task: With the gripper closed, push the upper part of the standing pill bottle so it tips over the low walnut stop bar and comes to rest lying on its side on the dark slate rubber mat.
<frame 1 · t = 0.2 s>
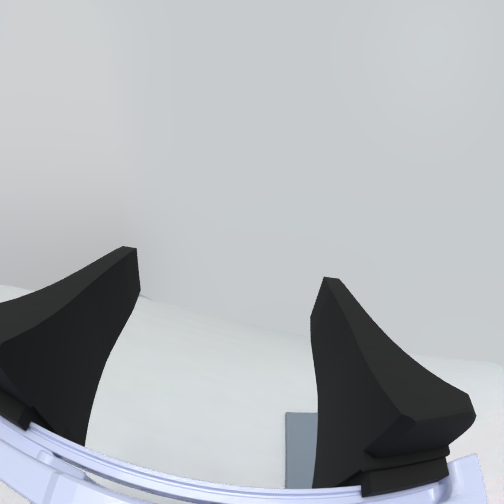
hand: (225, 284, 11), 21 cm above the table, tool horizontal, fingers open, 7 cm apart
slate mat: (354, 453, 23), on the table
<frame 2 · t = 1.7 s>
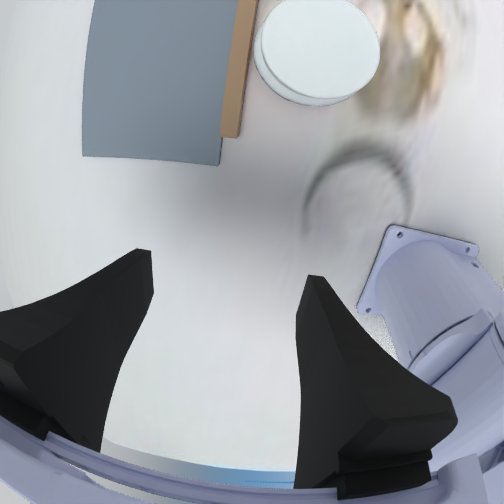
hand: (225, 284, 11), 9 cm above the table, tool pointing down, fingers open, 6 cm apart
pill bottle: (299, 65, 15), on the table
slate mat: (153, 54, 14), on the table
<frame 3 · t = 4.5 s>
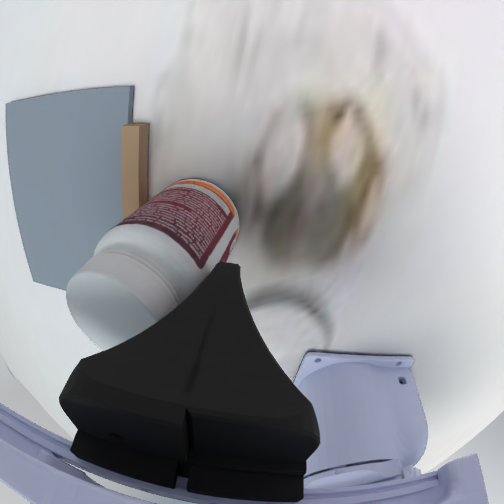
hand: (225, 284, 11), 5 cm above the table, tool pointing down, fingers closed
pill bottle: (199, 218, 16), on the table, touching gripper
slate mat: (65, 202, 16), on the table
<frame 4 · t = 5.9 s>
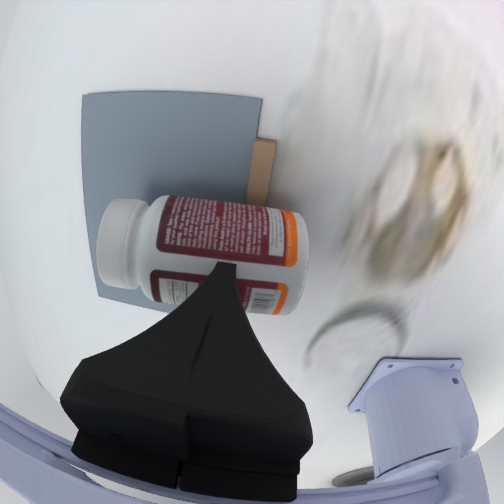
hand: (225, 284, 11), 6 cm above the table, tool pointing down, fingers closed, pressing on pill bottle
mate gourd: (364, 474, 37), on the table
pill bottle: (298, 265, 13), point 3 cm above the table, touching gripper, slate mat
slate mat: (158, 214, 16), on the table
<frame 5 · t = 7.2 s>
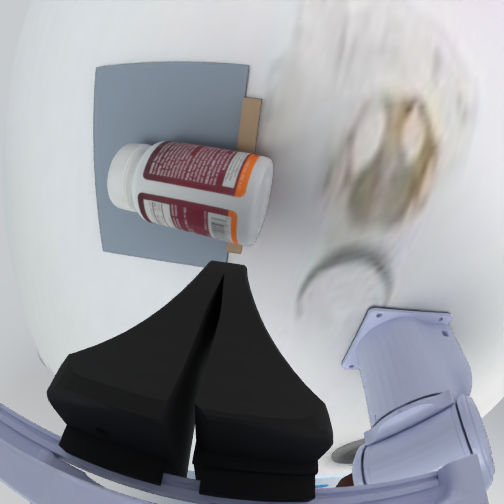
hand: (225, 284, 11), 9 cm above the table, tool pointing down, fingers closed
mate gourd: (363, 447, 40), on the table
pill bottle: (267, 204, 15), point 4 cm above the table, touching slate mat
slate mat: (160, 167, 18), on the table
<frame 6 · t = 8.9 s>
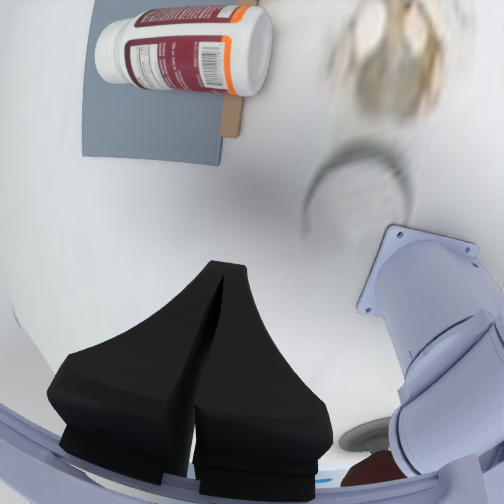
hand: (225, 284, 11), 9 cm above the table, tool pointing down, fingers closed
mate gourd: (375, 432, 36), on the table
pill bottle: (266, 53, 11), point 4 cm above the table, touching slate mat
slate mat: (153, 54, 14), on the table
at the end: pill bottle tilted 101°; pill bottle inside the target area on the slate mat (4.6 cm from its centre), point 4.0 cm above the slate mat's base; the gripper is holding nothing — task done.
